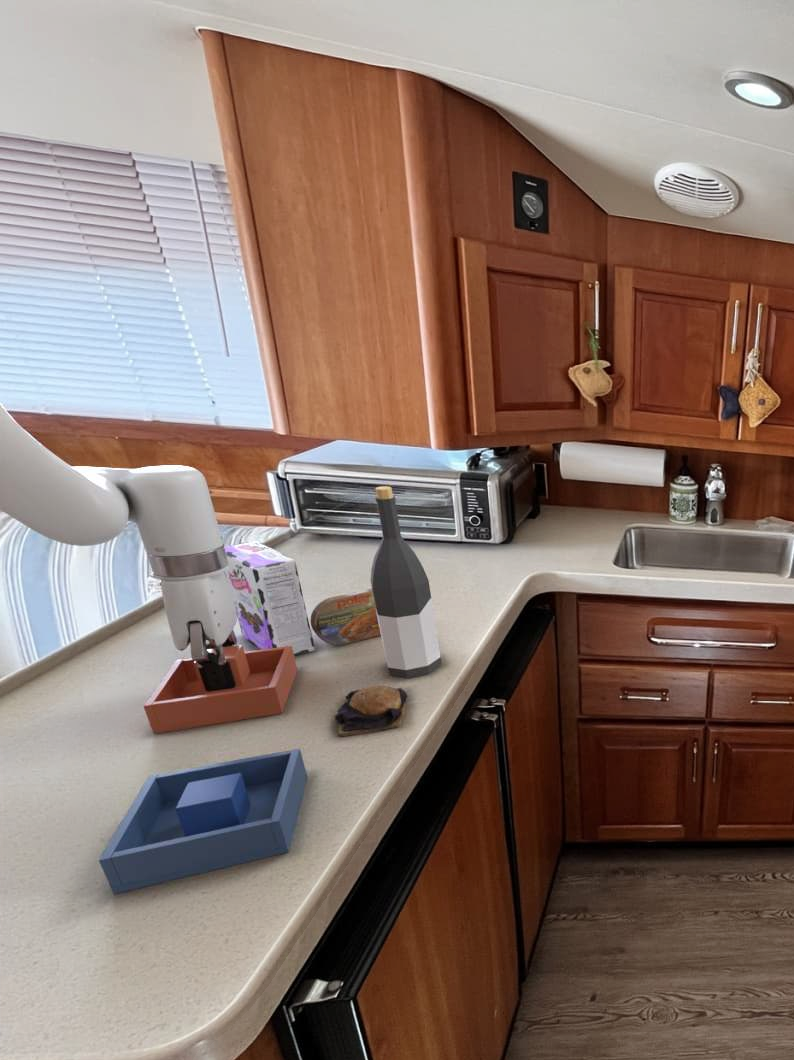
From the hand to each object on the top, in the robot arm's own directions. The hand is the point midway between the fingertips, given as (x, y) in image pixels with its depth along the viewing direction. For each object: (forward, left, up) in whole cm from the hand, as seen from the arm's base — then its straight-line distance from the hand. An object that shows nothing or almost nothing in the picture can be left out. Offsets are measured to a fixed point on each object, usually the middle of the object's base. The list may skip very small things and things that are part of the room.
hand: (225, 679), depth 91 cm
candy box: (+3, +18, -4) cm, 19 cm away
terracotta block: (0, 0, 0) cm, 0 cm away
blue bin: (+5, -31, -3) cm, 32 cm away
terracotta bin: (0, 0, -3) cm, 3 cm away
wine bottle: (+23, +2, -4) cm, 23 cm away
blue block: (+5, -31, -3) cm, 32 cm away
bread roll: (+18, -11, -4) cm, 21 cm away
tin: (+16, +17, -4) cm, 23 cm away
